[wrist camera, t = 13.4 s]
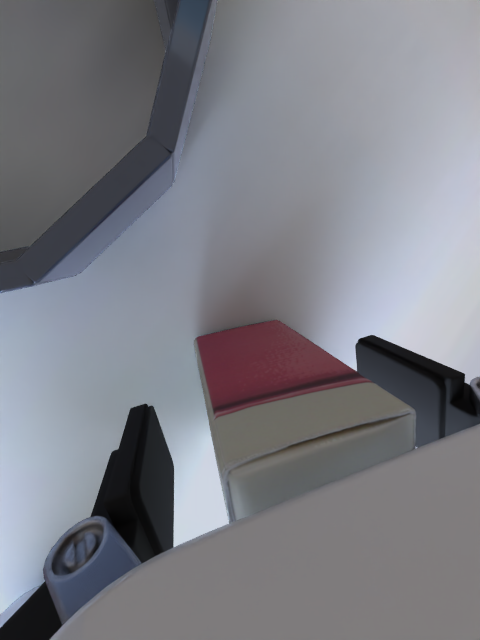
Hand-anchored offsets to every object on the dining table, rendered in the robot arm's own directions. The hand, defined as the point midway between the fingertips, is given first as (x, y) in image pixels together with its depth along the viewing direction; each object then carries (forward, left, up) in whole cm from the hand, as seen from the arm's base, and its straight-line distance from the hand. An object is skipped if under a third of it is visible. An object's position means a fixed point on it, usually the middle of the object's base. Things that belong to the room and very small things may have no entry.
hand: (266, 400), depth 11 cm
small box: (0, 0, -3) cm, 3 cm away
